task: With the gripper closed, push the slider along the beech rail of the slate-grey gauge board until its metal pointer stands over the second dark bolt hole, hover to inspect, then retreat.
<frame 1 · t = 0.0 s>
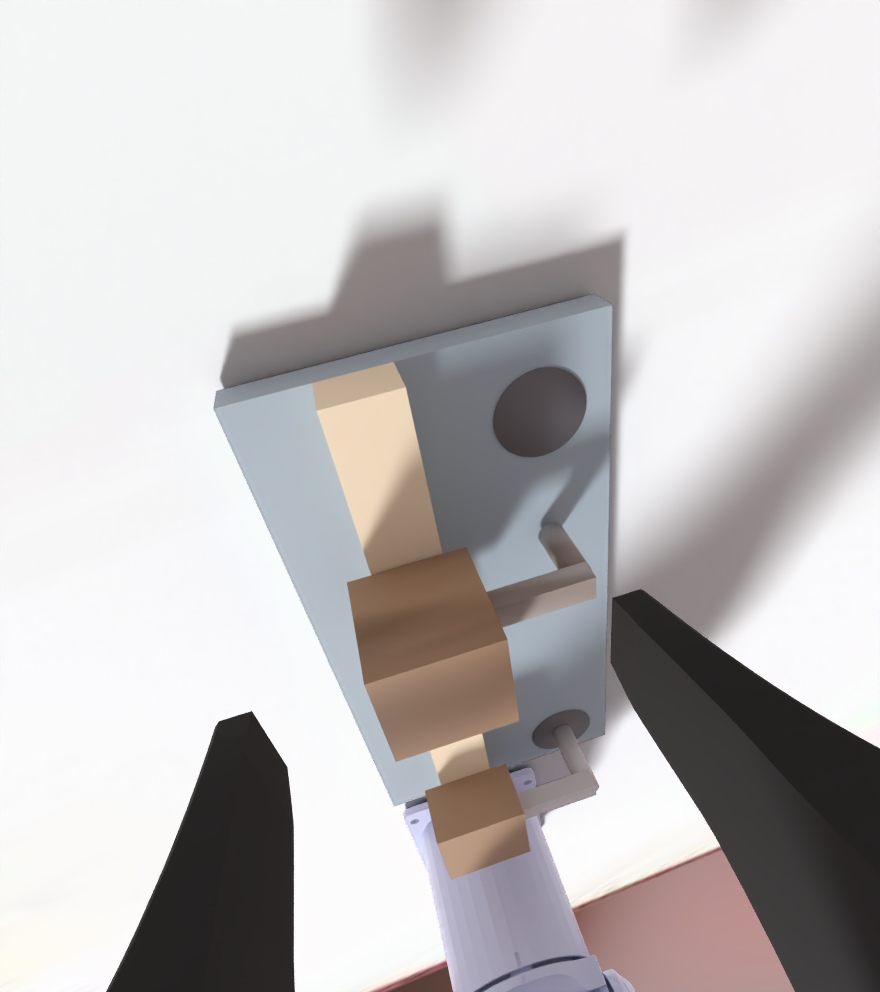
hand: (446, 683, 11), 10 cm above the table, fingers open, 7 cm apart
gauge board: (465, 604, 25), on the table
slider: (484, 614, 19), point 4 cm above the table, slide at 0.0 cm
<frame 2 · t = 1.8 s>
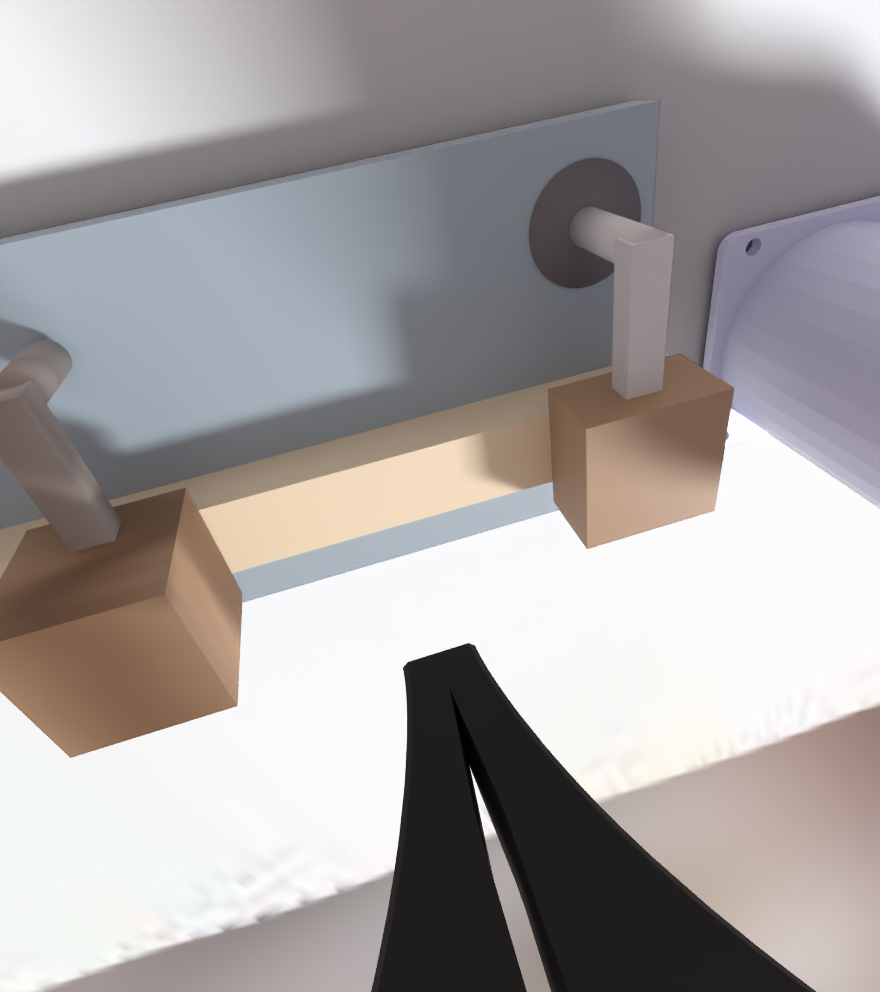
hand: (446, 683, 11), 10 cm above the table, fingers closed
gauge board: (262, 415, 17), on the table
slider: (96, 538, 14), point 4 cm above the table, slide at 0.0 cm
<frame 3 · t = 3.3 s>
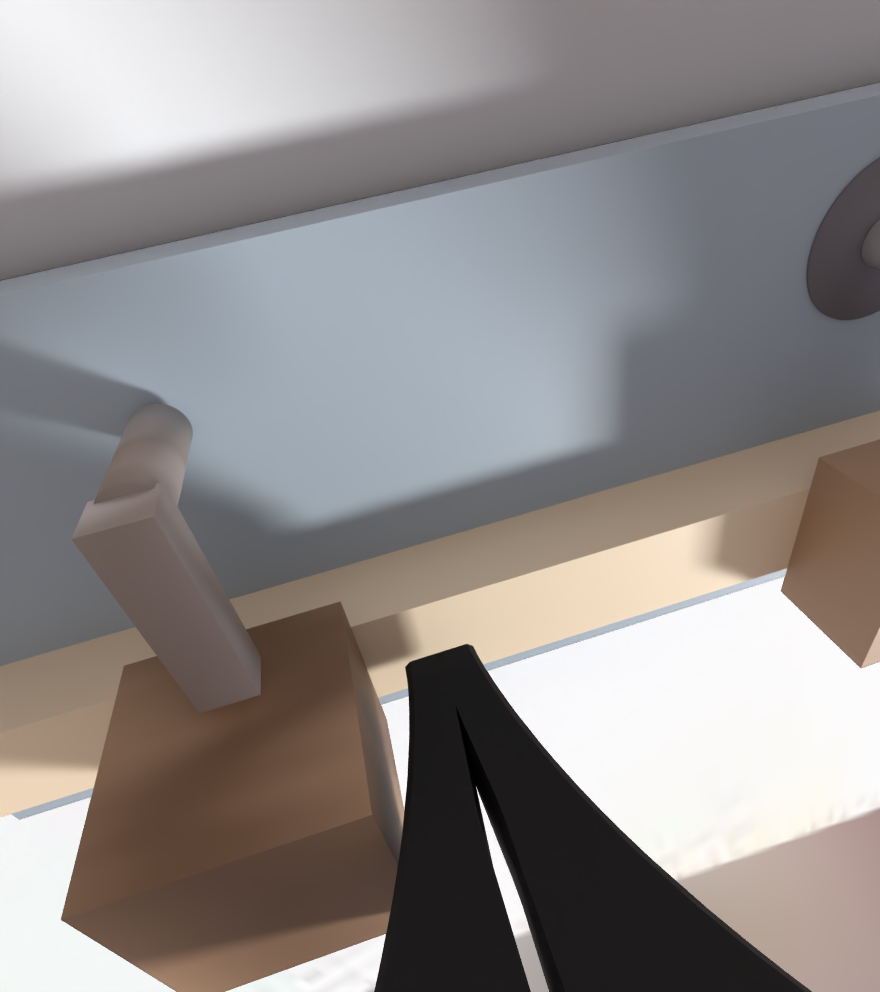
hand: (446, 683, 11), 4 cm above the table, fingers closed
gauge board: (414, 483, 13), on the table
slider: (231, 687, 10), point 4 cm above the table, slide at 0.1 cm, touching gripper
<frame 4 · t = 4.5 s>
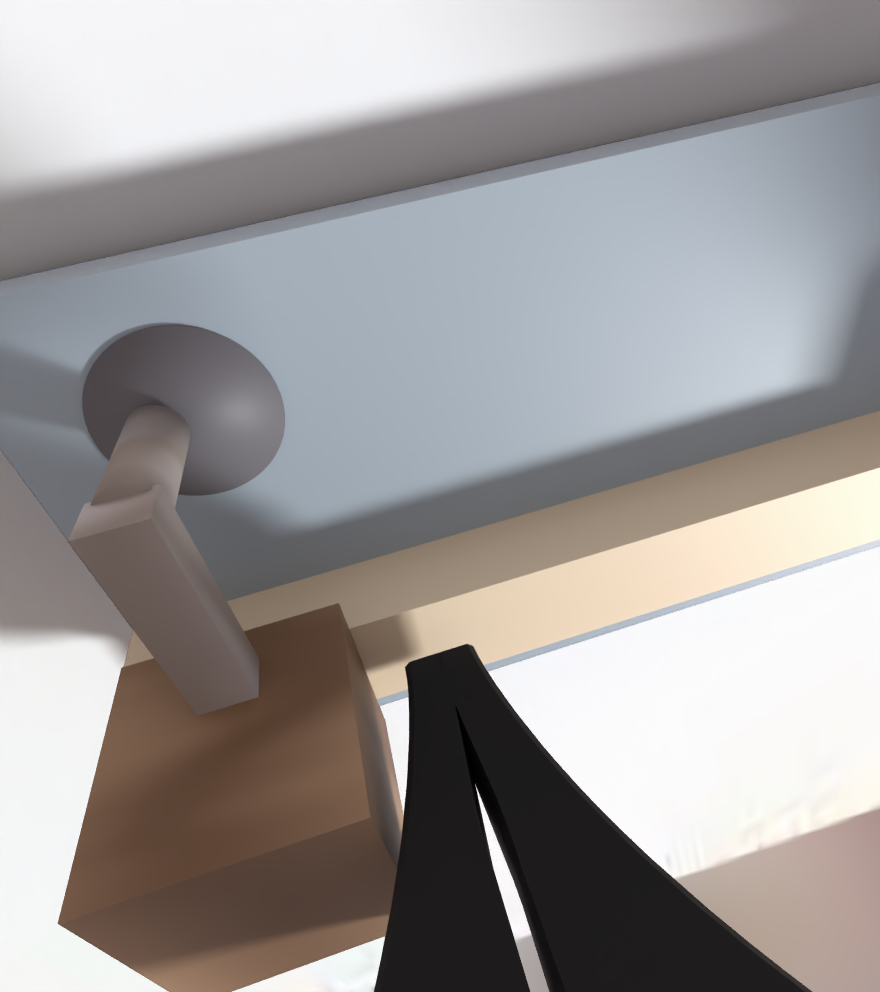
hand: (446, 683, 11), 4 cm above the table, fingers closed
gauge board: (627, 424, 14), on the table
slider: (229, 689, 10), point 4 cm above the table, slide at 5.5 cm, touching gripper
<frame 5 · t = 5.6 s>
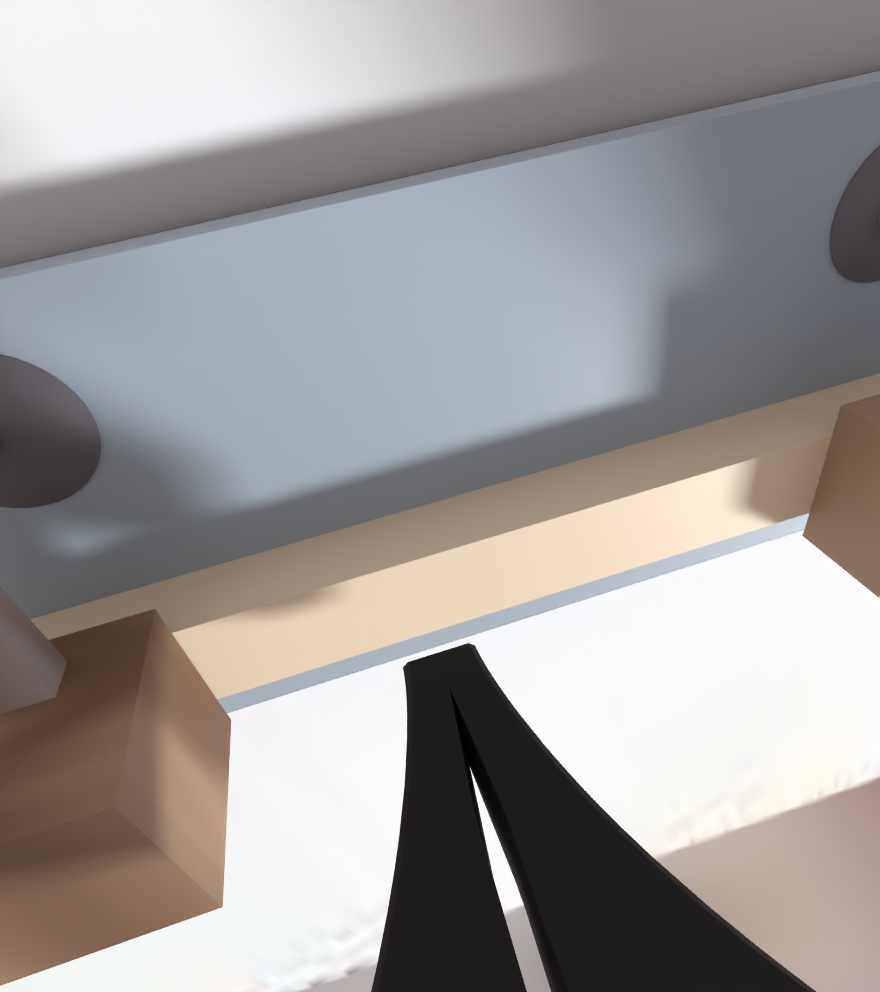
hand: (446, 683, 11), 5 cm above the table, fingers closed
gauge board: (469, 436, 15), on the table
slider: (31, 690, 10), point 4 cm above the table, slide at 5.5 cm
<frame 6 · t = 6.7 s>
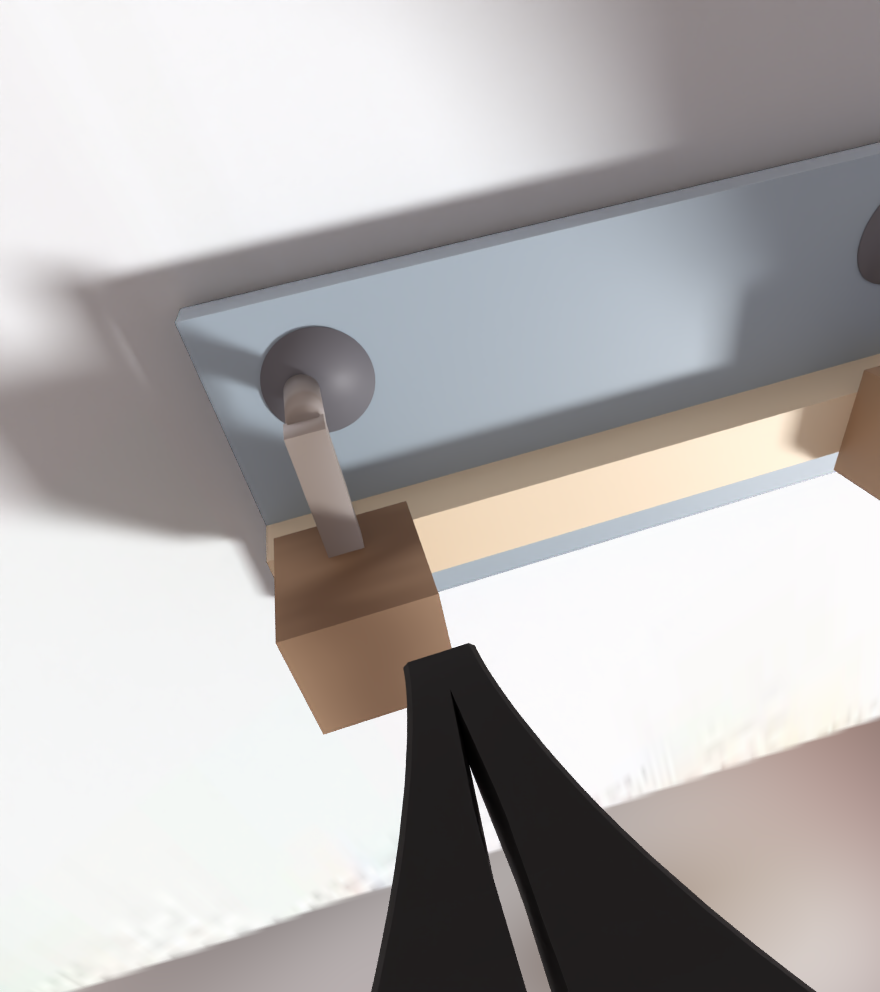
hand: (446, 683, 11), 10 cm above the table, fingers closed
gauge board: (594, 394, 20), on the table
slider: (345, 545, 16), point 4 cm above the table, slide at 5.5 cm
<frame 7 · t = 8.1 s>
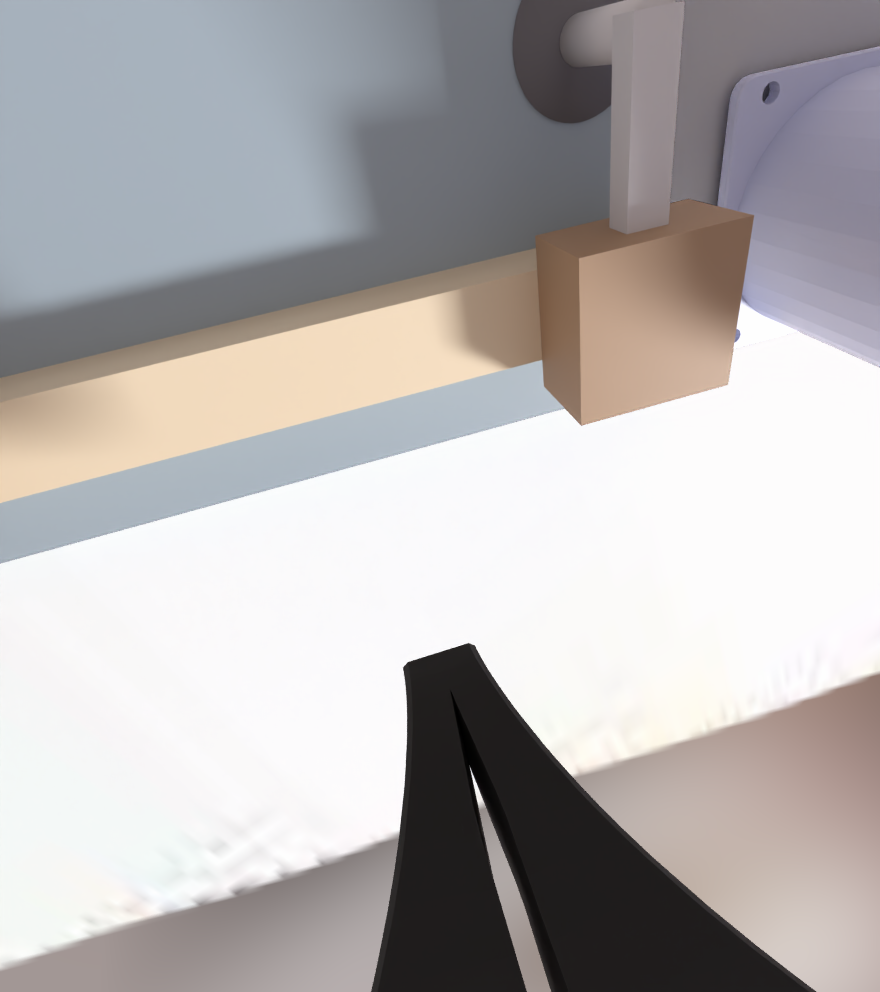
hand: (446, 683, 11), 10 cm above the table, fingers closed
gauge board: (210, 281, 15), on the table
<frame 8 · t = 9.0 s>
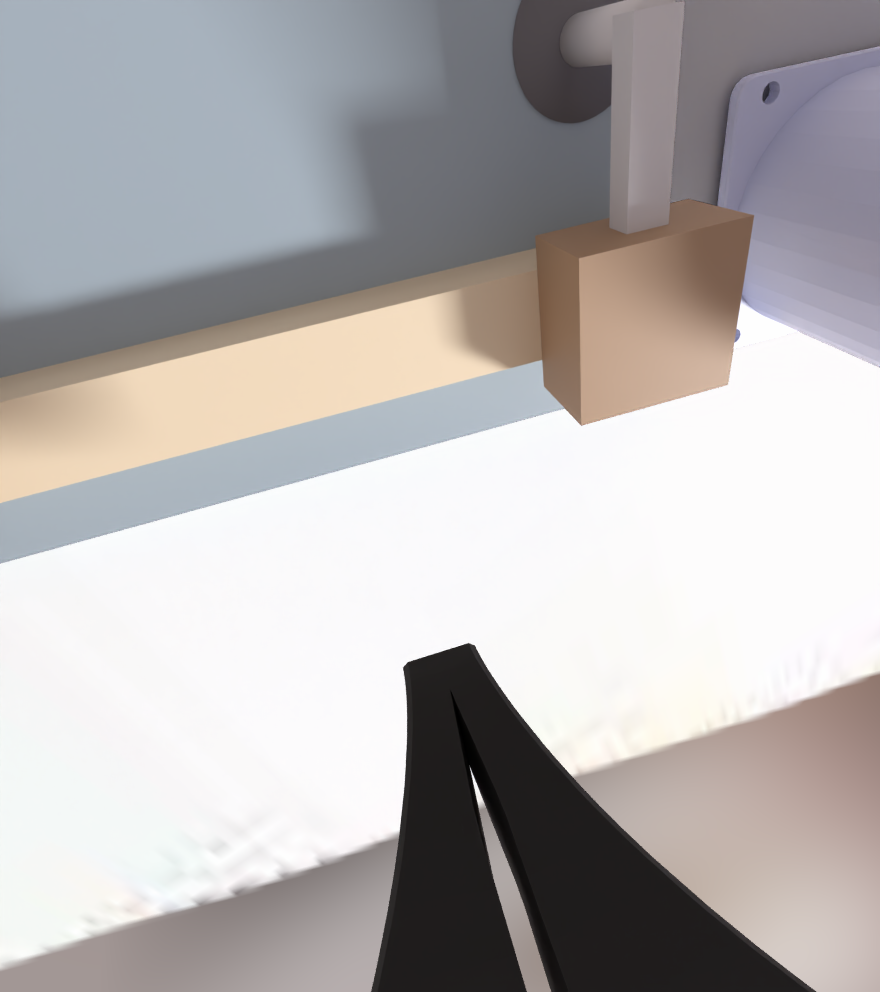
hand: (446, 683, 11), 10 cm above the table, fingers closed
gauge board: (210, 281, 15), on the table
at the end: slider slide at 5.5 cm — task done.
